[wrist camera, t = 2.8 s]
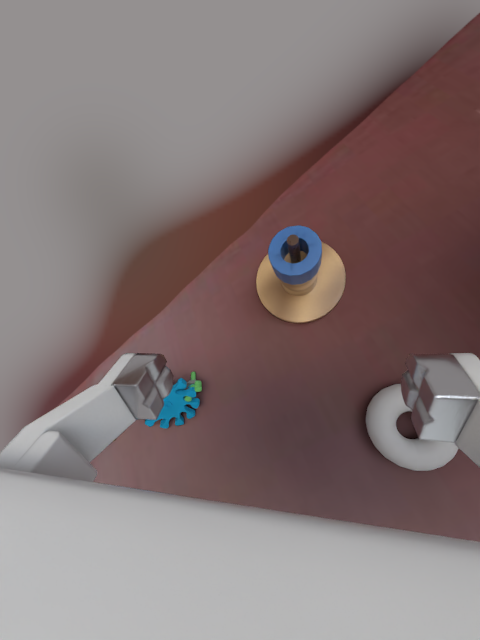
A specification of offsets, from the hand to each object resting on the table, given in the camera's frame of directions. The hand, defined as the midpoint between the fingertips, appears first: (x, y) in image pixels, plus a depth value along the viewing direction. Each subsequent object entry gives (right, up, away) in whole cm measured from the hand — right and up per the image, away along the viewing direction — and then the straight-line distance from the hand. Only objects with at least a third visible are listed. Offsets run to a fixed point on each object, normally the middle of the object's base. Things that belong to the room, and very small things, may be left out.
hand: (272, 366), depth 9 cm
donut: (+20, -12, +24) cm, 33 cm away
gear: (-11, -11, +33) cm, 36 cm away
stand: (+8, +7, +30) cm, 32 cm away
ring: (+6, +9, +23) cm, 25 cm away
